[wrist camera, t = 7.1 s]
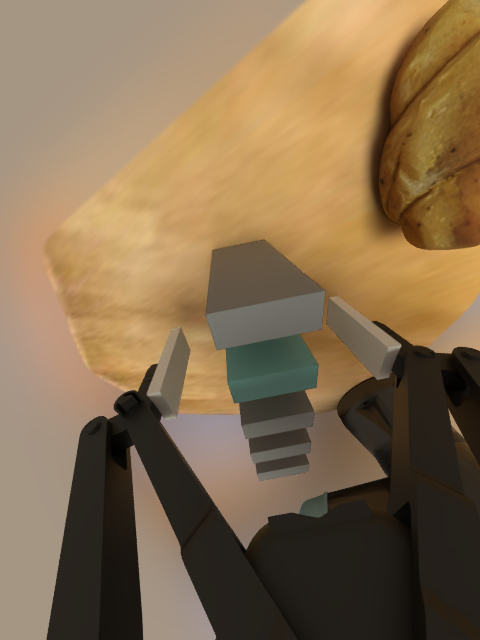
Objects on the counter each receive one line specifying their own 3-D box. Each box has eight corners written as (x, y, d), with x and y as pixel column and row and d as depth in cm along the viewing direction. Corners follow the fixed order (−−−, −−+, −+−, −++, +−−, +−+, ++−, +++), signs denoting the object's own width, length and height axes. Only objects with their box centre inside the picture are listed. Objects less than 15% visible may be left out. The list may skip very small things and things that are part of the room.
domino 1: (272, 330, 24) (312, 426, 14) (234, 338, 24) (245, 439, 14) (271, 317, 22) (314, 411, 12) (230, 325, 23) (241, 425, 12)
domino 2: (274, 355, 26) (310, 452, 16) (239, 362, 26) (253, 463, 16) (273, 345, 25) (311, 442, 15) (237, 352, 25) (250, 453, 15)
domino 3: (276, 376, 29) (308, 471, 18) (244, 382, 29) (259, 481, 19) (275, 367, 27) (309, 464, 17) (242, 374, 27) (256, 473, 17)
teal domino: (269, 298, 21) (316, 387, 11) (226, 307, 21) (234, 403, 11) (268, 282, 20) (318, 364, 10) (222, 291, 20) (227, 382, 10)
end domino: (265, 260, 19) (321, 329, 9) (217, 270, 19) (216, 350, 9) (264, 239, 18) (325, 290, 8) (212, 250, 18) (205, 314, 8)
